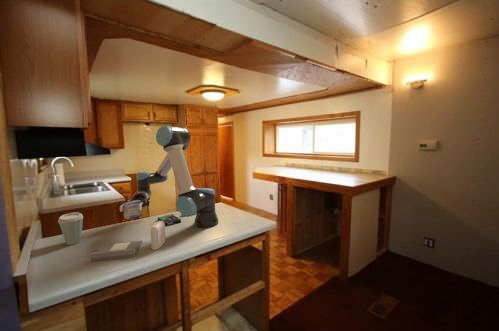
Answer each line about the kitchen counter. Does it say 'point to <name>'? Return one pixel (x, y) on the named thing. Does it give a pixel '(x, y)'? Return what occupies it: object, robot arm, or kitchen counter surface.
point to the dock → (116, 250)
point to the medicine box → (132, 209)
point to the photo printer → (157, 235)
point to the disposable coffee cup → (71, 227)
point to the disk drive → (169, 219)
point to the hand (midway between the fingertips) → (130, 208)
